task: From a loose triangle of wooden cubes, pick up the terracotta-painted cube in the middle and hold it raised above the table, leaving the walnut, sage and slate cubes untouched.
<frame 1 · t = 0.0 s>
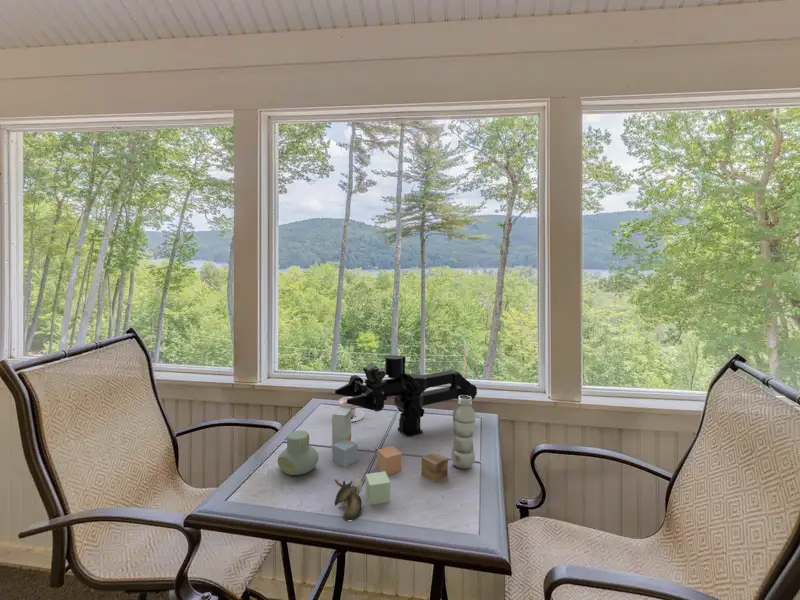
hand: (340, 396, 116), 17 cm above the table, tool horizontal, fingers open, 9 cm apart
walnut cube: (434, 475, 104), on the table
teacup: (348, 417, 143), on the table
deer head figurine: (347, 509, 90), on the table
sage cube: (377, 497, 94), on the table
air freshener: (298, 470, 106), on the table
skincare box: (341, 449, 118), on the table
slate cube: (344, 460, 111), on the table
terracotta cube: (389, 468, 107), on the table
plastic bottle: (462, 466, 110), on the table
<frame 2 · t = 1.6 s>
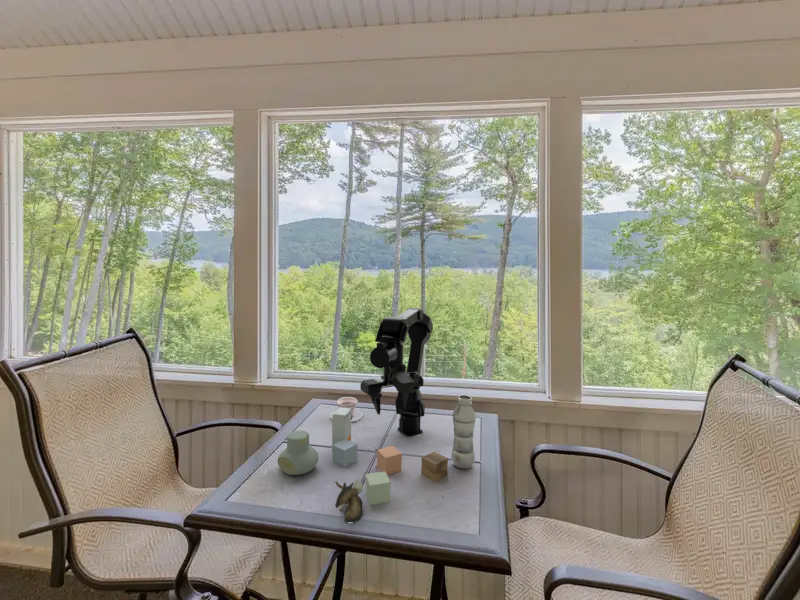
hand: (392, 411, 114), 13 cm above the table, tool pointing down, fingers open, 9 cm apart
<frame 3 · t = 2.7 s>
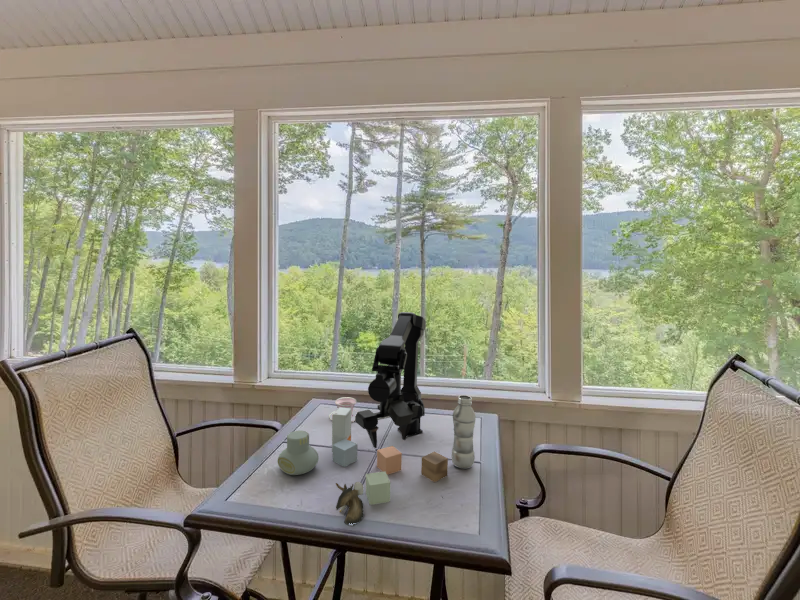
hand: (389, 443, 107), 7 cm above the table, tool pointing down, fingers open, 9 cm apart
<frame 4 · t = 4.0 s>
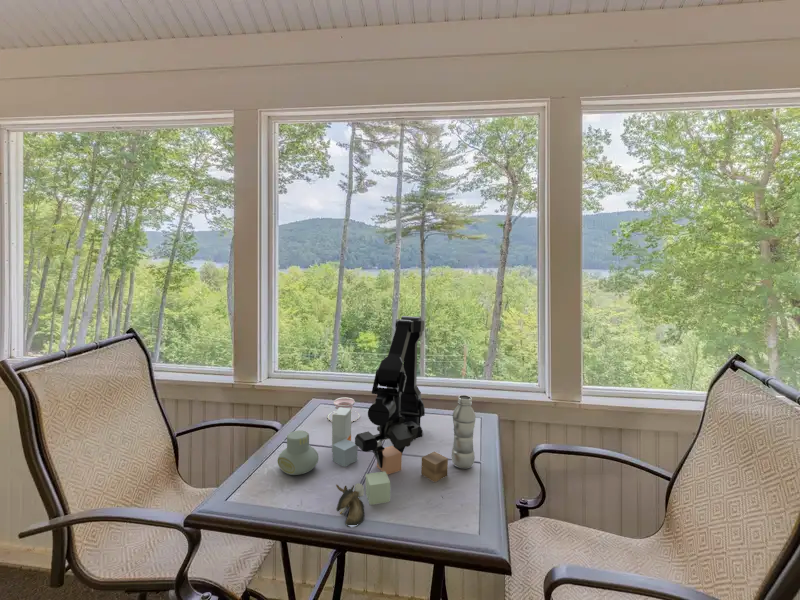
hand: (389, 464, 107), 1 cm above the table, tool pointing down, fingers closed on terracotta cube, 5 cm apart
terracotta cube: (389, 468, 107), on the table, touching gripper
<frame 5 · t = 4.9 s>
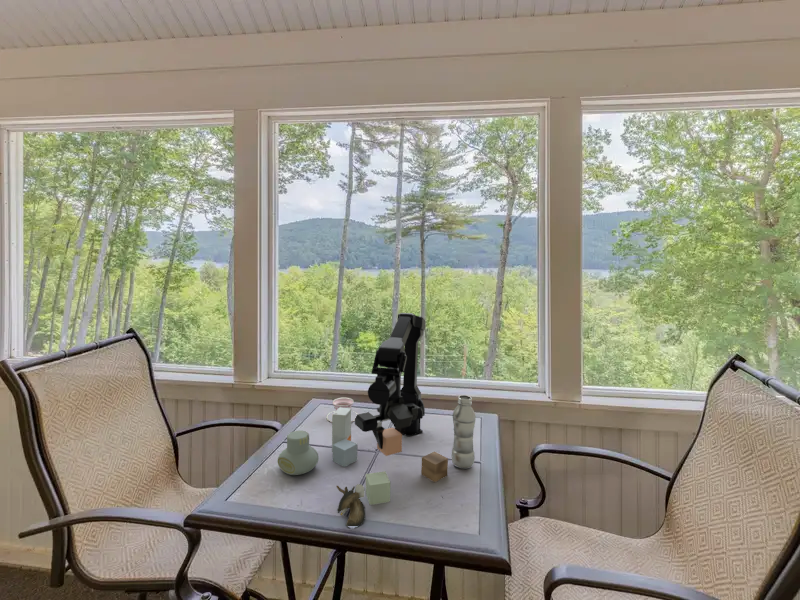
hand: (389, 446, 107), 7 cm above the table, tool pointing down, fingers closed on terracotta cube, 5 cm apart
terracotta cube: (389, 449, 107), point 5 cm above the table, touching gripper
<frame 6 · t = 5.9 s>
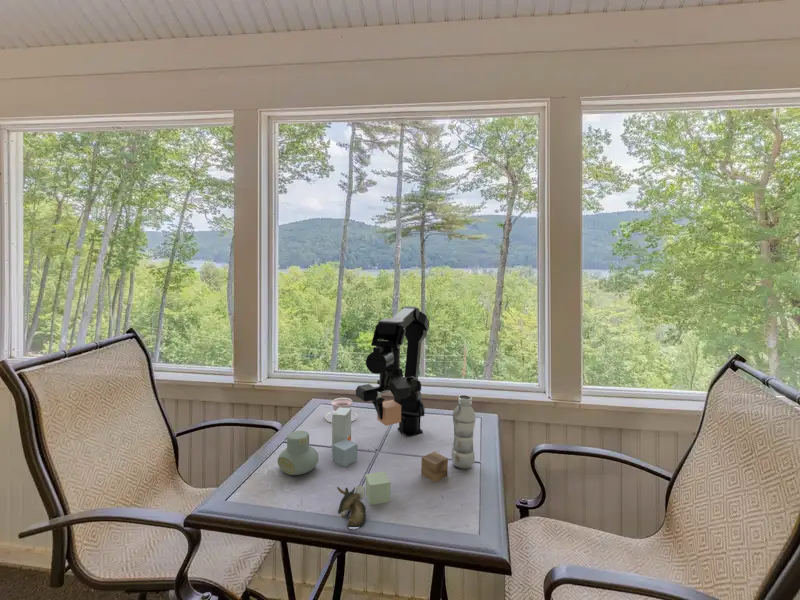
hand: (389, 417, 110), 13 cm above the table, tool pointing down, fingers closed on terracotta cube, 5 cm apart
terracotta cube: (389, 420, 110), point 12 cm above the table, touching gripper
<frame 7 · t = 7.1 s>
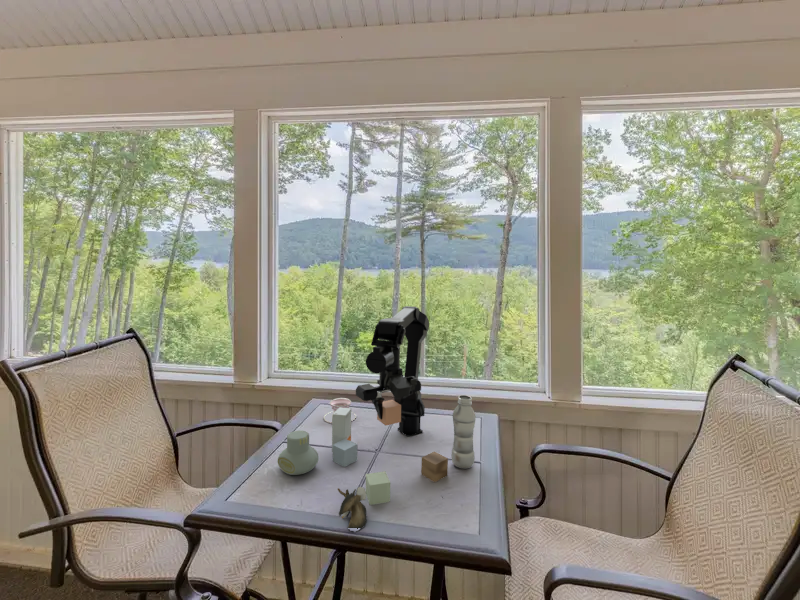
hand: (388, 417, 110), 13 cm above the table, tool pointing down, fingers closed on terracotta cube, 5 cm apart
terracotta cube: (388, 420, 111), point 12 cm above the table, touching gripper
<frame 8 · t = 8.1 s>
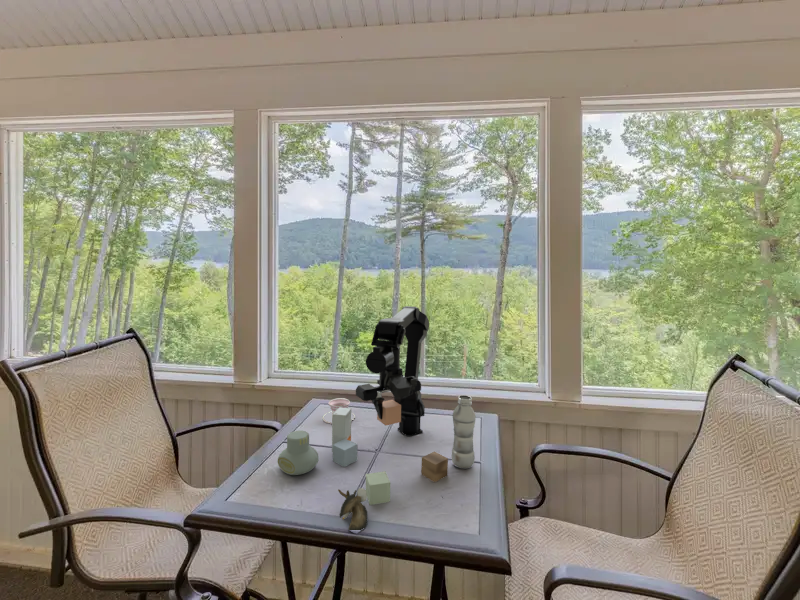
hand: (388, 417, 110), 13 cm above the table, tool pointing down, fingers closed on terracotta cube, 5 cm apart
terracotta cube: (388, 420, 111), point 12 cm above the table, touching gripper
at the end: the gripper is holding terracotta cube; terracotta cube point 11.9 cm above the table; walnut cube moved 0.1 cm from its start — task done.
